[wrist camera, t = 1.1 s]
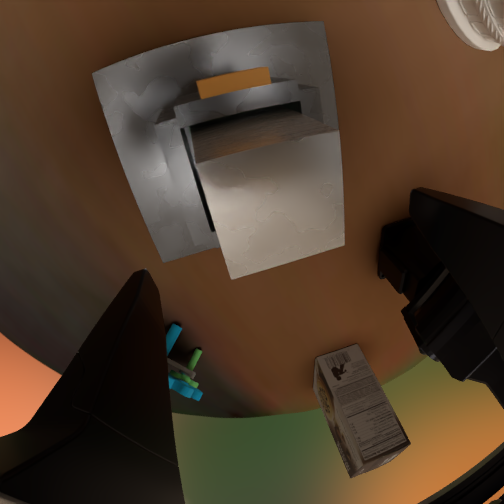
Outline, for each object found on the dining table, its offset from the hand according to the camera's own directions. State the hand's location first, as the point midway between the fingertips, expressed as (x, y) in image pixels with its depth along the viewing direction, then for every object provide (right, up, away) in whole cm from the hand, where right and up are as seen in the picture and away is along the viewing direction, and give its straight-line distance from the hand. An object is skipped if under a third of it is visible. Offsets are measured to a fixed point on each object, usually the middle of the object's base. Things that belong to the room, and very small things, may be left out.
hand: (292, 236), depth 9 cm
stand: (-3, +7, +10) cm, 12 cm away
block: (-2, +6, +8) cm, 10 cm away
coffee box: (+10, -17, +30) cm, 36 cm away
